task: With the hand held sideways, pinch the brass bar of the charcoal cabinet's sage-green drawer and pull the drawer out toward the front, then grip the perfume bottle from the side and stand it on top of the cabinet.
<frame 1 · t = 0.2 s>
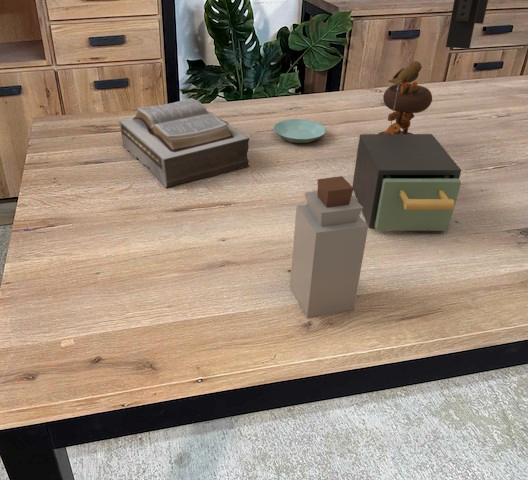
hand: (465, 34, 72), 31 cm above the table, tool pointing down, fingers open, 13 cm apart
bible: (183, 156, 116), on the table
bird figurine: (396, 154, 115), on the table
cabinet: (395, 206, 96), on the table
saucer: (298, 138, 123), on the table
drawer: (409, 193, 88), point 5 cm above the table, slide at 1.0 cm
perfume bottle: (320, 299, 75), on the table
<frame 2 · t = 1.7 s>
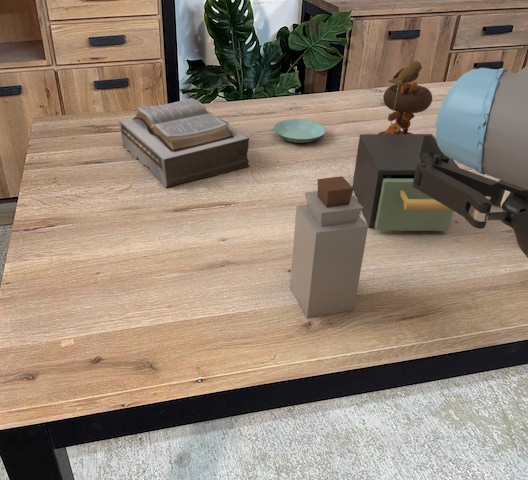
hand: (483, 146, 62), 22 cm above the table, tool horizontal, fingers open, 13 cm apart
nothing on the table moved.
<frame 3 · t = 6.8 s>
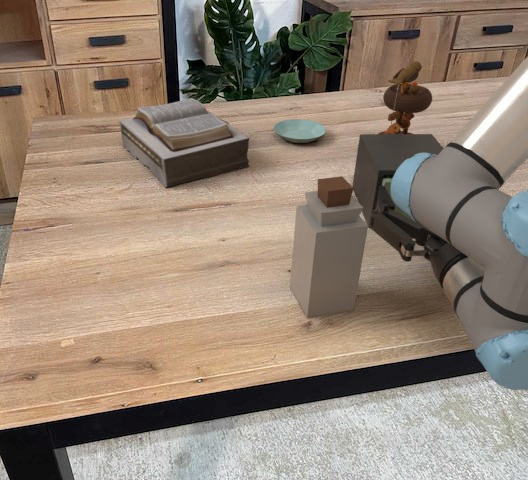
hand: (420, 193, 84), 8 cm above the table, tool horizontal, fingers closed on drawer, 12 cm apart
drawer: (409, 193, 88), point 5 cm above the table, slide at 1.0 cm, touching gripper
everything else where it was.
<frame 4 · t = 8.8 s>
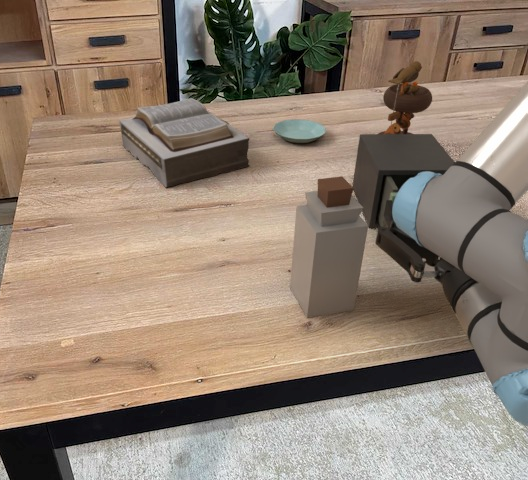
hand: (429, 207, 80), 8 cm above the table, tool horizontal, fingers closed on drawer, 12 cm apart
drawer: (417, 207, 85), point 5 cm above the table, slide at 5.6 cm, touching gripper
everything else where it was.
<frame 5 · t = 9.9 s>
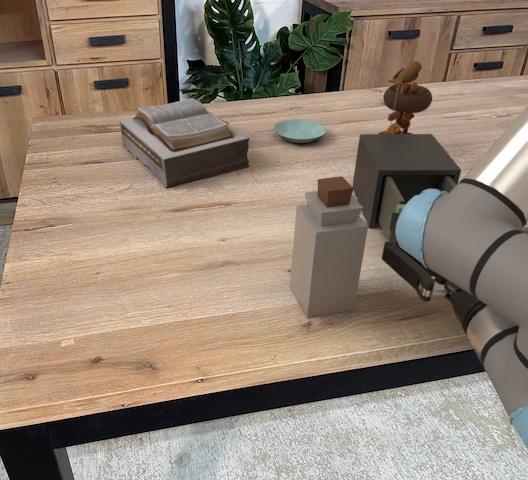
hand: (436, 220, 77), 8 cm above the table, tool horizontal, fingers closed on drawer, 12 cm apart
drawer: (424, 219, 82), point 5 cm above the table, slide at 9.2 cm, touching gripper
everything else where it was.
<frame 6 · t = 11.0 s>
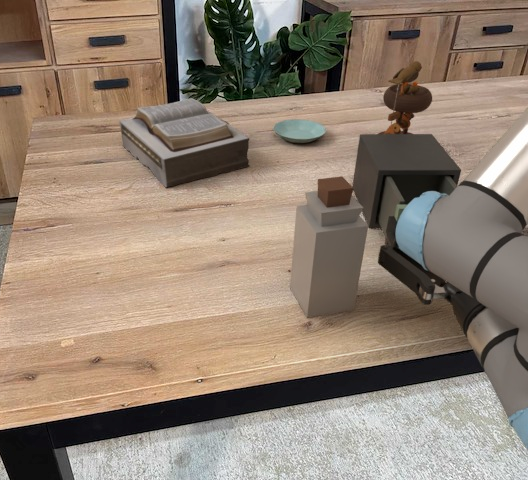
hand: (437, 224, 76), 7 cm above the table, tool horizontal, fingers open, 13 cm apart
drawer: (424, 219, 82), point 5 cm above the table, slide at 9.3 cm
everything else where it was.
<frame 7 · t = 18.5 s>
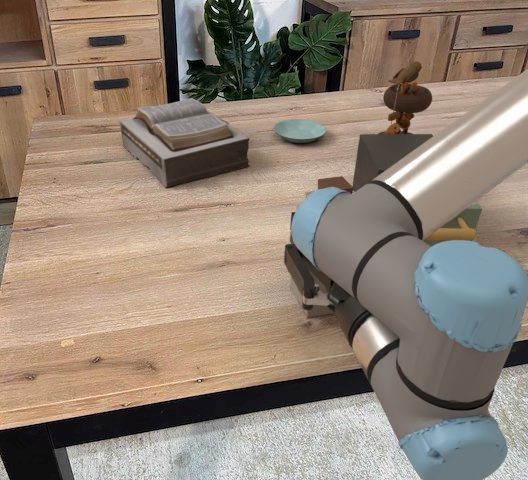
hand: (316, 218, 73), 10 cm above the table, tool horizontal, fingers closed on perfume bottle, 6 cm apart
perfume bottle: (320, 299, 75), on the table, touching gripper
everything else where it was.
when the fingers open (21 cm above the table, at t = 28.1 s): perfume bottle stays where it is, resting on cabinet.
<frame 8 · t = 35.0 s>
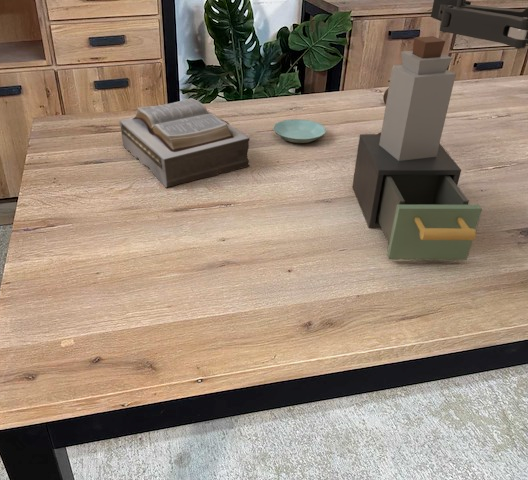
hand: (488, 2, 65), 36 cm above the table, tool horizontal, fingers open, 13 cm apart
perfume bottle: (406, 151, 90), point 11 cm above the table, touching cabinet
everything else where it was.
at the end: drawer slide at 9.3 cm; perfume bottle inside the target area on the cabinet (0.0 cm from its centre), point 10.6 cm above the cabinet's base; perfume bottle tilted 0° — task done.
